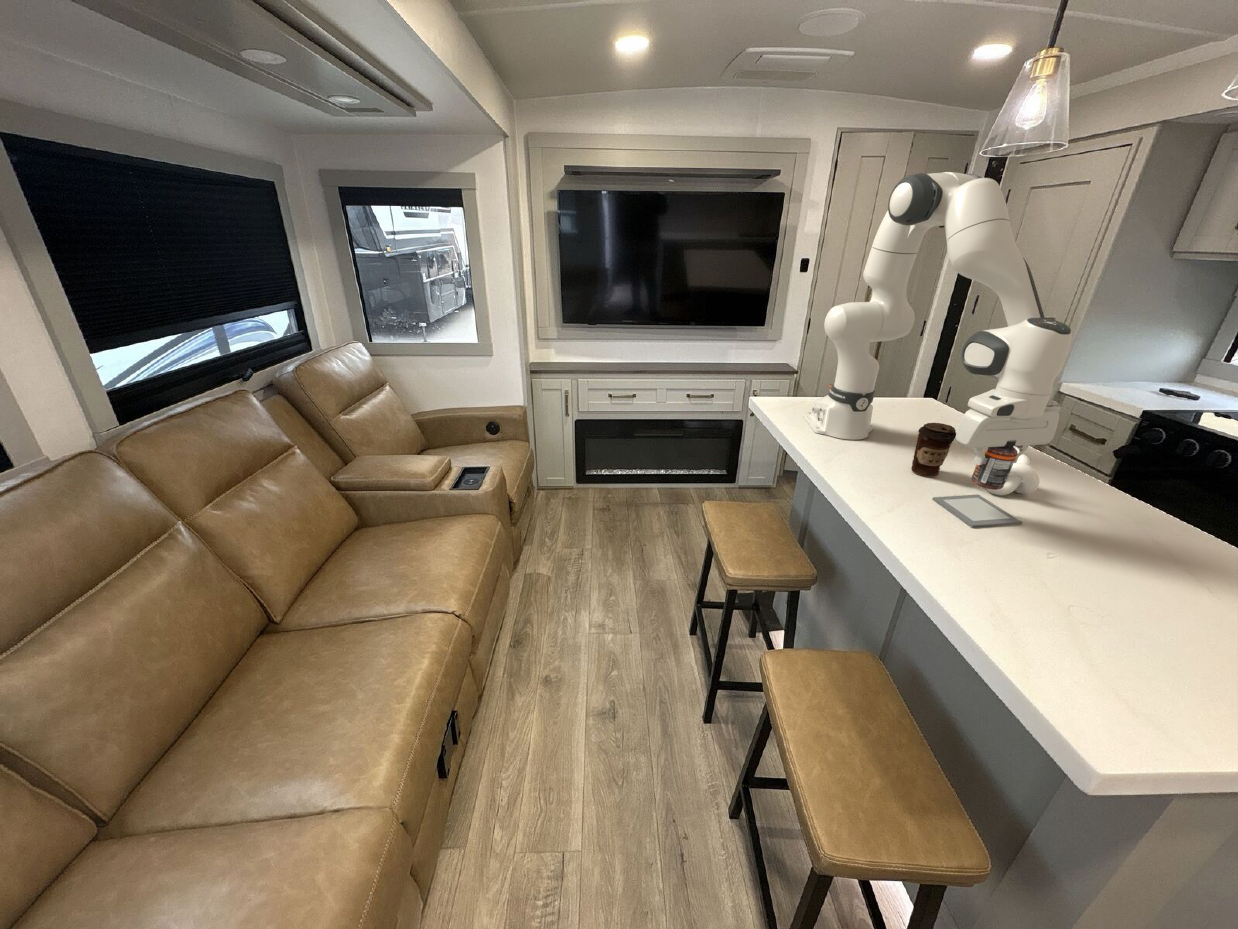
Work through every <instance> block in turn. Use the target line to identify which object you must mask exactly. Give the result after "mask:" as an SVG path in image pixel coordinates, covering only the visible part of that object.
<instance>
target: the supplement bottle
mask: <svg viewBox="0 0 1238 929" xmlns="http://www.w3.org/2000/svg"><path fill="white" fill-rule="evenodd" d="M1015 444H1016V440H1013V441H1007V443H1006V445H1005V446H1003V447H988V450H987V451H984V453H985V457H987V458H988V460H987V462H986V464H985V465H977V464H975V468H974V471H973V473H972V475H971V482H972V483H973V484H974V485H976V486H979V487H980V488H983V489H985V490H987V489H992V490H997V489H1001V488H1003V486H1004V484H1005V482H1006V480H1007V477H1008V475H1009V473H1010V470H1011V468H1012V466H1013V463H1014V461H1015V458H1016V456H1017V450H1016V449H1015V448H1014V447H1015Z"/></svg>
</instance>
